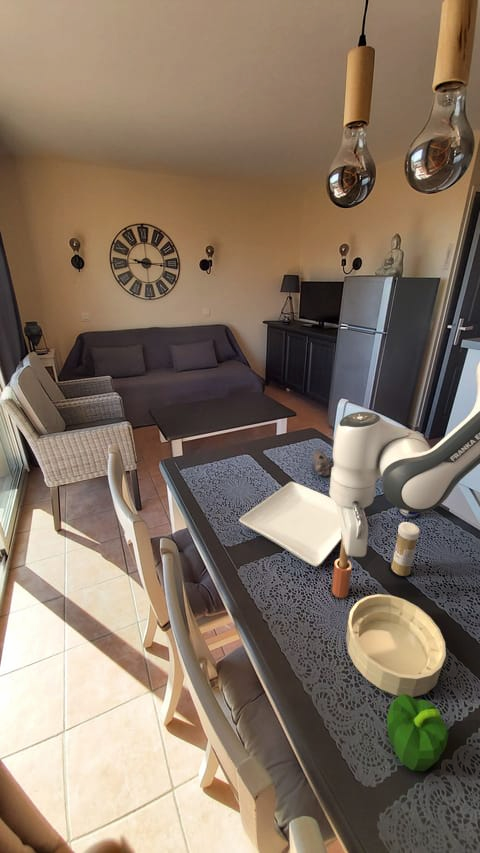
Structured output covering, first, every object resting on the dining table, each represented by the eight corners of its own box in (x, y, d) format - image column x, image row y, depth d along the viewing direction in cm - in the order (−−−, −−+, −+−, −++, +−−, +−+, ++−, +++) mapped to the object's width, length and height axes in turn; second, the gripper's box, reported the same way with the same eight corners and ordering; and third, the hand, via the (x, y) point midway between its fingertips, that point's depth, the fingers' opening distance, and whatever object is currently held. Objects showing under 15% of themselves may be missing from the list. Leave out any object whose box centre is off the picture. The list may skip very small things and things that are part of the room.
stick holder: (347, 585, 87) (350, 558, 84) (349, 598, 84) (353, 571, 80) (330, 584, 87) (333, 557, 84) (332, 597, 84) (335, 570, 81)
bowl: (421, 617, 79) (426, 597, 76) (454, 704, 63) (462, 683, 61) (340, 611, 81) (342, 591, 78) (353, 694, 65) (357, 672, 63)
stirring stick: (343, 587, 86) (351, 519, 78) (344, 593, 84) (353, 524, 76) (335, 586, 86) (343, 519, 78) (336, 592, 85) (344, 524, 76)
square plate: (237, 529, 107) (237, 518, 105) (291, 489, 125) (291, 479, 123) (316, 576, 90) (317, 564, 88) (365, 522, 108) (367, 511, 106)
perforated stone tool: (309, 460, 143) (310, 444, 140) (322, 459, 143) (323, 444, 140) (317, 480, 129) (318, 463, 127) (331, 480, 129) (333, 463, 127)
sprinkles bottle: (388, 563, 93) (395, 521, 88) (406, 563, 93) (414, 521, 87) (395, 577, 89) (403, 534, 83) (413, 577, 89) (423, 533, 83)
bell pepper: (382, 768, 55) (391, 731, 51) (383, 711, 62) (391, 675, 58) (443, 793, 53) (458, 756, 48) (437, 731, 60) (449, 694, 55)
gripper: (380, 522, 64) (370, 580, 70) (358, 464, 82) (352, 513, 88) (343, 520, 65) (337, 577, 70) (330, 463, 83) (326, 512, 89)
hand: (345, 541), depth 79 cm, fingers closed on stirring stick, 2 cm apart
